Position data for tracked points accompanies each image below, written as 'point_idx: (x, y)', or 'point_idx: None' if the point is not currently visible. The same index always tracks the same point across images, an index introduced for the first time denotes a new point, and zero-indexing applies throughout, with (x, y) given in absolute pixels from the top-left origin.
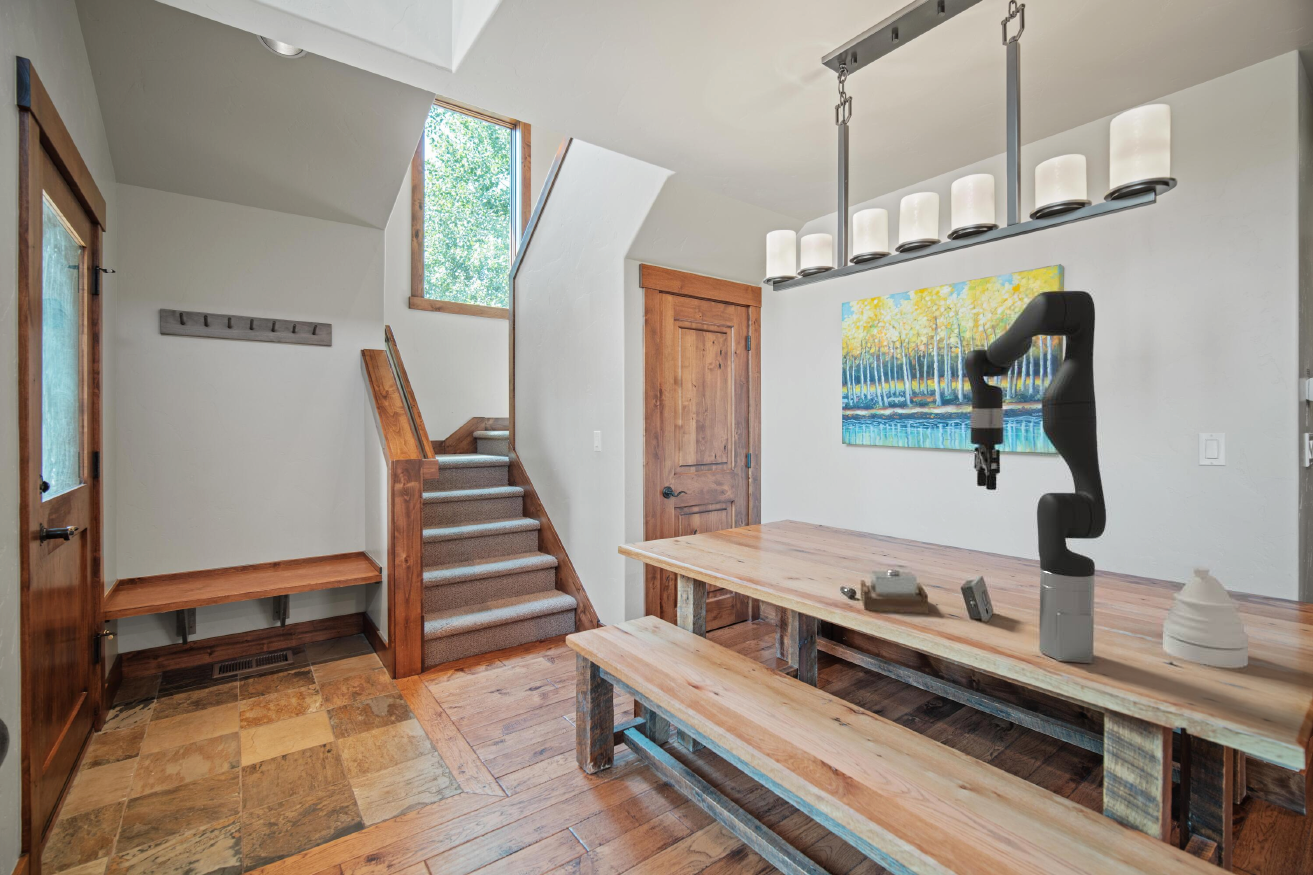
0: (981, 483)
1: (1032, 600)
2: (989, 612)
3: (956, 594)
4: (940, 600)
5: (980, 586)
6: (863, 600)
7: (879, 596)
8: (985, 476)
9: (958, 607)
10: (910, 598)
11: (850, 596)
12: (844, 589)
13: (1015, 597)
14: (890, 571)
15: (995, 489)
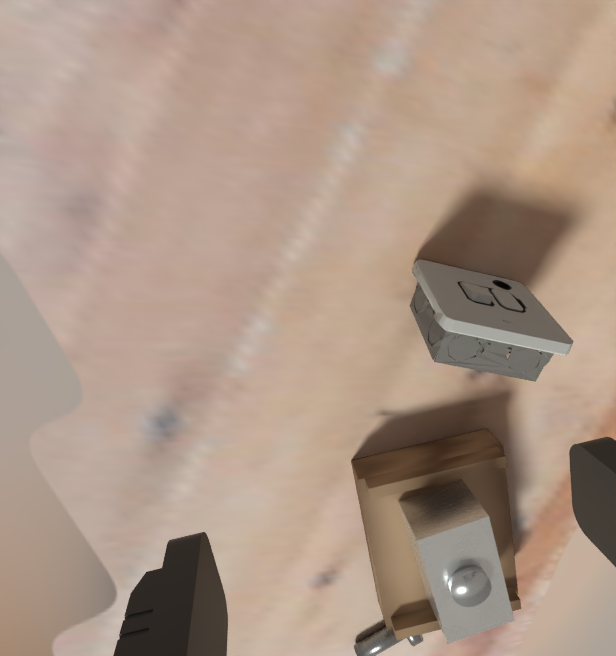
0: (216, 598)
1: (204, 115)
2: (477, 275)
3: (242, 363)
4: (337, 405)
5: (519, 321)
6: None
7: None
8: (195, 640)
9: (394, 354)
10: (484, 491)
11: None
12: (384, 649)
13: (189, 172)
14: (480, 596)
15: (602, 438)
